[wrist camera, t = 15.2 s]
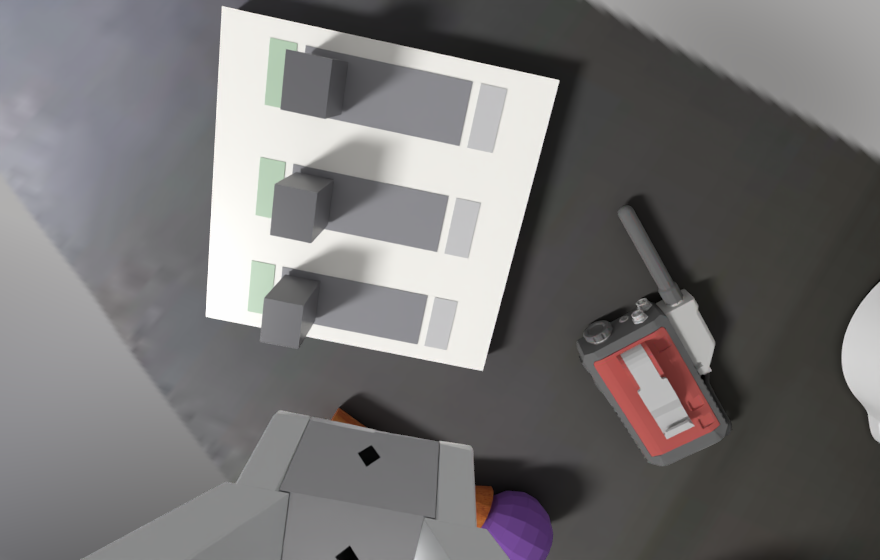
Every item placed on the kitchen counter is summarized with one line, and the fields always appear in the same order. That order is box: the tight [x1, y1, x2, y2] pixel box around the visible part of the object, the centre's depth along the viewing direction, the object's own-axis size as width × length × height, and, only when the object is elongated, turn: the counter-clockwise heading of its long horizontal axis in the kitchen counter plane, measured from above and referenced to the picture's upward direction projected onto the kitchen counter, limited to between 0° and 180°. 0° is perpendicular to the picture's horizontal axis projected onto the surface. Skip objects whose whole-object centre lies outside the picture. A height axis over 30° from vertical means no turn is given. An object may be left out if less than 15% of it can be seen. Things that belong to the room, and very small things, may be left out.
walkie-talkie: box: [576, 205, 732, 466], centre depth 38 cm, size 9×4×20 cm
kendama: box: [331, 408, 553, 560], centre depth 42 cm, size 6×6×20 cm
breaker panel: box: [206, 6, 560, 371], centre depth 35 cm, size 20×20×2 cm
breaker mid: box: [270, 172, 334, 243], centre depth 32 cm, size 2×3×4 cm
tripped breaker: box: [280, 49, 348, 119], centre depth 30 cm, size 2×3×4 cm
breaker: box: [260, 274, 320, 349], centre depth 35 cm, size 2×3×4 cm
